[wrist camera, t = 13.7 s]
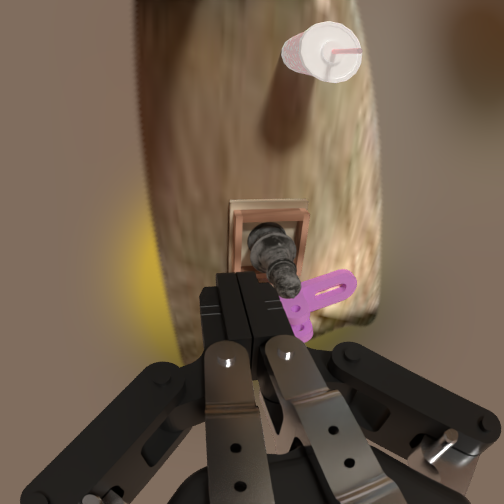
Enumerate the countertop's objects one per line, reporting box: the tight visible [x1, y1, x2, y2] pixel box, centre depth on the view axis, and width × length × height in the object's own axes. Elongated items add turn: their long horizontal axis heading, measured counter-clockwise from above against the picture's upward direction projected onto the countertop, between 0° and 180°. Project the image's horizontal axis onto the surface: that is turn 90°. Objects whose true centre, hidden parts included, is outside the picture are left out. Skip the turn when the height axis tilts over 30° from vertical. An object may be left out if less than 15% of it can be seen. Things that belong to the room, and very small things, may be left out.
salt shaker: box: [247, 222, 301, 299], centre depth 38 cm, size 6×6×12 cm
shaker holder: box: [228, 199, 310, 279], centre depth 42 cm, size 11×10×3 cm
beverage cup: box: [281, 21, 362, 83], centre depth 26 cm, size 6×6×14 cm
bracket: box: [279, 269, 357, 342], centre depth 48 cm, size 13×6×7 cm, turn 104°
